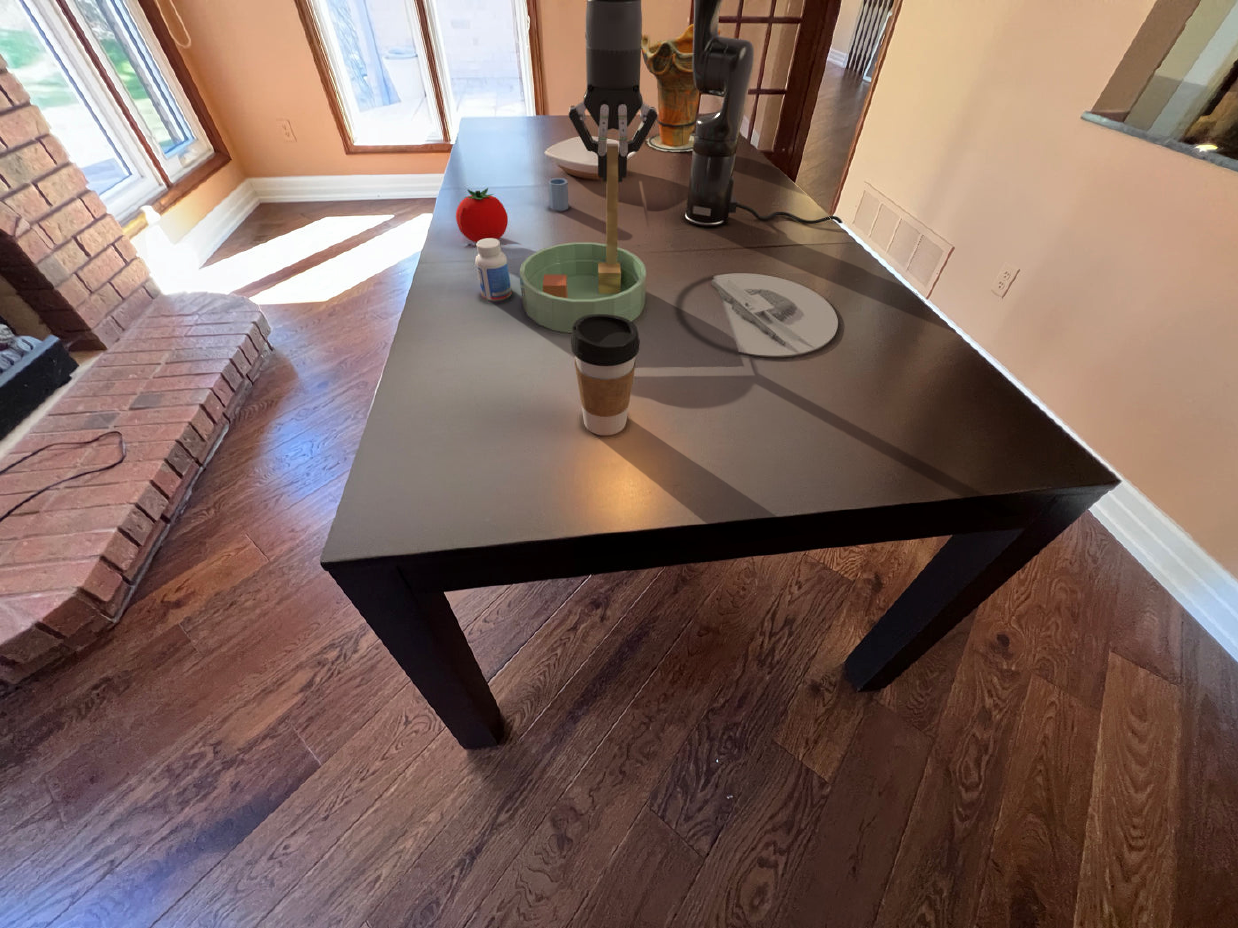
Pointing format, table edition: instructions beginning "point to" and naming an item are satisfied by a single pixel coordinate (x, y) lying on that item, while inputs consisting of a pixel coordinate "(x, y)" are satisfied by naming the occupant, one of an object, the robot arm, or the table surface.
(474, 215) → the tomato
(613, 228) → the stick
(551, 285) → the block
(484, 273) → the pill bottle
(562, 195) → the stick holder
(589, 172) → the bowl
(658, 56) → the decorative vase
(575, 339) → the coffee cup
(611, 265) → the block
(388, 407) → the table surface
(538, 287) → the stir bowl
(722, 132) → the robot arm
